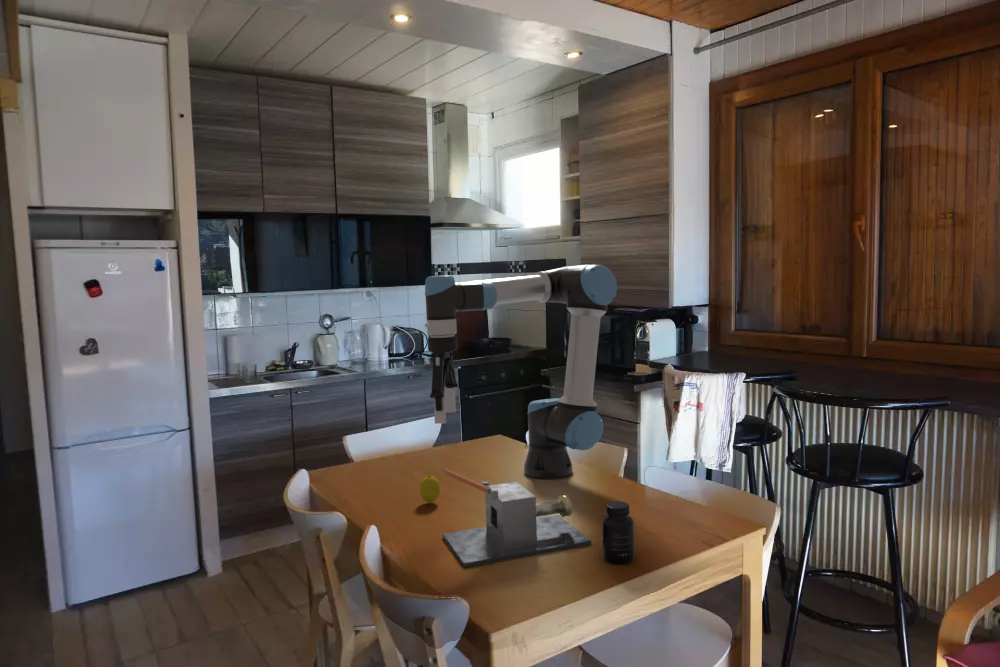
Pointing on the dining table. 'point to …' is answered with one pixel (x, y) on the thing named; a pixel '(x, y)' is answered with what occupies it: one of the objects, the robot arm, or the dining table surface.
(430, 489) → the lemon
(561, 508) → the lynch pin
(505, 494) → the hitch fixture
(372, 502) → the dining table surface
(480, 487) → the tan flat bar
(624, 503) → the supplement bottle
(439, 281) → the robot arm
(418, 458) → the dining table surface
